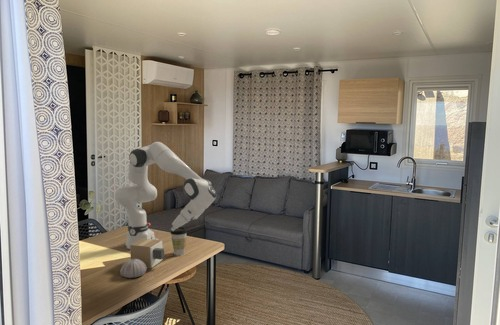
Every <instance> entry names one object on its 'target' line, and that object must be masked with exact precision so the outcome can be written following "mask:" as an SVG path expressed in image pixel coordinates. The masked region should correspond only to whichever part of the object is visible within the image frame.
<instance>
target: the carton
mask: <svg viewBox="0 0 500 325" xmlns="http://www.w3.org/2000/svg"><path fill="white" fill-rule="evenodd" d="M160 241H162V240H161V239H158V240H155V239H144V238H142V239H140V240H138V241H136V242H135V243H133V244H131V245H130V249H129V252H130V259H139V260H141V261H142V262H144V263H145V265H146V267H147V269H152V268H151V260H150V248H151V247H152V246H154V245H155V244H157V243H159V242H160Z"/></svg>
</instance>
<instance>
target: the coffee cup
mask: <svg viewBox="0 0 500 325" xmlns="http://www.w3.org/2000/svg"><path fill="white" fill-rule="evenodd" d="M170 230H171V229H170ZM187 233H188V230H187V228H186V227H185V226H184V227H183V226H180V227H179V228H177V229H175V230H174V231H172V230H171V231H170V234H171V235H170V236H171V242H172V249H173V254H174V255H175V256H183V255H185V252H186V245H187V244H186V243H187Z"/></svg>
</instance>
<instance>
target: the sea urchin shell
mask: <svg viewBox="0 0 500 325" xmlns="http://www.w3.org/2000/svg"><path fill="white" fill-rule="evenodd" d="M147 270H148V268H147V267H146V265H145V263H144V262H142V261H141V260H139V259H131V258H130V259H128V260H127V261H125V262H124V263H123V264H122V266H121V268H120V270H119V273H120V275H121V276H122V277H124V278H125V279H127V278H128V279H133V278H134V279H135V278H139V277H141V276H144V275H145V273H146V272H147Z"/></svg>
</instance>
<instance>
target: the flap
mask: <svg viewBox="0 0 500 325" xmlns="http://www.w3.org/2000/svg"><path fill="white" fill-rule="evenodd" d="M164 258H165V248H163V240H161V241H160V242H159V243H157V244H155V245H154V246H152V247H151V248H150V260H151V268H150V269H152V268H154V267H155V266H156V265H158V264H159V263H161V262H163V260H164Z"/></svg>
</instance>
